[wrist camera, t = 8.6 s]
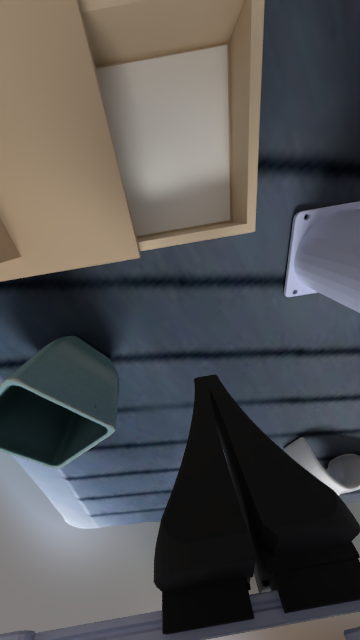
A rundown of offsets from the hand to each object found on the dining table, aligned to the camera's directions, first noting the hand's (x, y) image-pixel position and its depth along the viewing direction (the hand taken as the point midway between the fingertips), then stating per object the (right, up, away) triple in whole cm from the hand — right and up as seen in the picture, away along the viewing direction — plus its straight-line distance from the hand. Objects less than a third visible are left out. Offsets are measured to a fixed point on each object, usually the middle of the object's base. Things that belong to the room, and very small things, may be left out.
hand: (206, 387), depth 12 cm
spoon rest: (+29, -24, +28) cm, 47 cm away
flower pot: (-14, 0, +11) cm, 18 cm away
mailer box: (-5, +16, +3) cm, 17 cm away
